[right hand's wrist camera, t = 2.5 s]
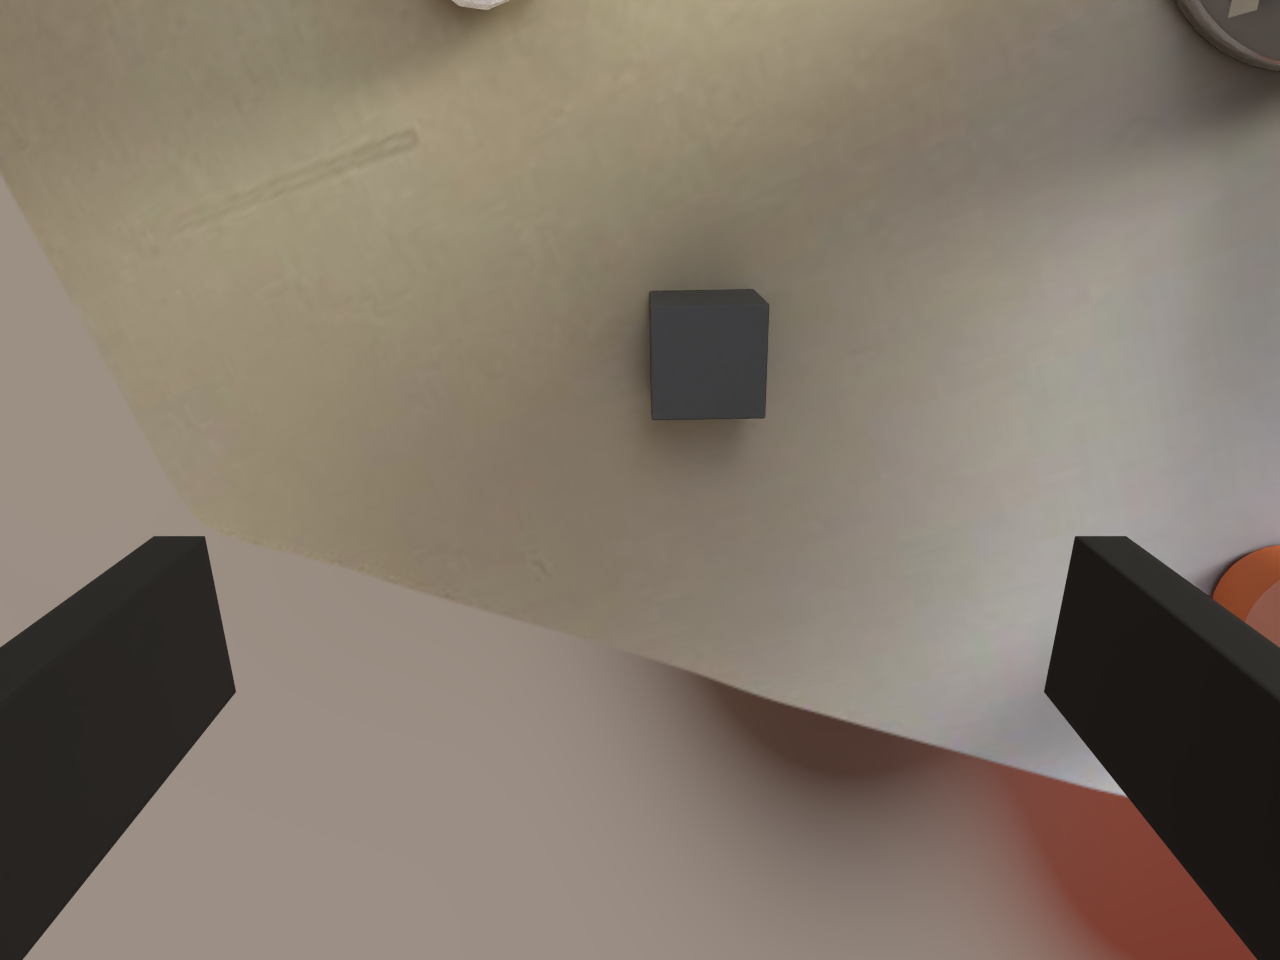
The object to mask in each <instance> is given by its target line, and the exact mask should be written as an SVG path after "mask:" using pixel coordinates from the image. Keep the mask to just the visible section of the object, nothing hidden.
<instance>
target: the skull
mask: <svg viewBox="0 0 1280 960" xmlns="http://www.w3.org/2000/svg"><path fill="white" fill-rule="evenodd" d="M452 1H453V2H455V3H456V4H457V5H458V6H462V7H469V8H476V9H483V10H489V9H491V8H494V7H496V6H498V5H501V4H503V3H506V2H508V1H510V0H452Z"/></svg>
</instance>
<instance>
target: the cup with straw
mask: <svg viewBox="0 0 1280 960" xmlns="http://www.w3.org/2000/svg"><path fill="white" fill-rule="evenodd" d="M1212 599H1213V600H1215V601H1216V602H1217V603H1219V604H1220V605H1222V606H1223V607H1224V608H1226V609H1227V610H1228V611H1230V612H1231V613H1233V614H1234V615H1235V616H1237V617H1238V618H1240V619H1241V620H1242V621H1244V622H1245V623H1246V624H1248V625H1249V626H1251V627H1252V628H1253V629H1255V630H1256V631H1257V632H1259V633H1260V634H1262V635H1263V636H1264V637H1266V638H1267V639H1269V640H1270V641H1271V642H1273V643H1274V644H1275V645H1277V646H1278V647H1280V545H1275V546H1270V547H1265V548H1262V549H1259V550H1257V551H1254V552H1252V553H1250V554H1248V555H1247V556H1245V557H1243V558H1242V559H1240V560H1239V561H1237V562H1236V563H1235V564H1234V565H1233V566H1232V567H1231V568H1229V569H1228V571H1227V572H1226V573H1225V574H1224V575H1223V577H1222V578H1221V580H1220V581H1219V583H1218V585H1217V587H1216V589H1215V591H1214V594H1213V598H1212Z"/></svg>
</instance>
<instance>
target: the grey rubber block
mask: <svg viewBox="0 0 1280 960" xmlns="http://www.w3.org/2000/svg"><path fill="white" fill-rule="evenodd" d="M649 297H650V370H651V412H652V420H687V419H749V418H765V407H766V380H767V352H768V324H769V304H768V303H767V302H766V301H765V300H764V299H763V298H762V297H761V296H760V295H759V294H758V293H757V292H756V291H755V290H753V289H742V290H685V291H650V293H649Z"/></svg>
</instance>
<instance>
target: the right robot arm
mask: <svg viewBox="0 0 1280 960" xmlns="http://www.w3.org/2000/svg"><path fill="white" fill-rule="evenodd" d="M1175 2H1176V3H1177V5H1178V7H1179V9H1180V10H1181V12H1182V13H1183V14H1184V16H1185V17H1186V19H1187V20H1188V22H1189V23H1190V24H1191V25H1192V26H1193V27H1194V28H1195V30H1196V31H1197V32H1198V33H1199V34H1200V35H1201V36H1202V37H1203V38H1205V39H1206V40H1207V41H1208V42H1209V43H1210V44H1211V45H1213V46H1214V47H1216V48H1217V49H1219V50H1220V51H1222V52H1223V53H1225V54H1227V55H1229V56H1231V57H1232V58H1234V59H1236V60H1238V61H1241V62H1244V63H1246V64H1249V65H1252V66H1255V67H1259V68H1263V69H1268V70H1274V71H1280V0H1175ZM235 692H236V690H235V685H234V680H233V675H232V670H231V665H230V660H229V655H228V650H227V645H226V640H225V635H224V630H223V625H222V620H221V615H220V610H219V605H218V600H217V595H216V590H215V585H214V580H213V575H212V570H211V565H210V560H209V555H208V550H207V545H206V540H205V537H204V536H154V537H152V538H151V539H150V540H148V541H147V542H146V543H144V544H143V545H141V546H140V547H139V548H137V549H136V550H134V551H133V552H132V553H130V554H129V555H128V556H126V557H125V558H123V559H122V560H121V561H119V562H118V563H117V564H115V565H114V566H112V567H111V568H110V569H108V570H107V571H105V572H104V573H103V574H101V575H100V576H99V577H97V578H96V579H94V580H93V581H92V582H90V583H89V584H87V585H86V586H85V587H83V588H82V589H81V590H79V591H78V592H76V593H75V594H74V595H72V596H71V597H69V598H68V599H67V600H65V601H64V602H63V603H61V604H60V605H59V606H57V607H56V608H54V609H53V610H52V611H50V612H49V613H47V614H46V615H45V616H43V617H42V618H41V619H39V620H38V621H36V622H35V623H34V624H32V625H31V626H29V627H28V628H27V629H25V630H24V631H23V632H21V633H20V634H18V635H17V636H16V637H14V638H13V639H11V640H10V641H9V642H7V643H6V644H5V645H3V646H2V647H0V960H23V958H24V957H25V956H26V955H27V953H28V952H29V951H30V950H31V948H32V947H33V946H34V945H35V943H36V942H37V941H38V940H39V938H40V937H41V936H42V935H43V933H44V932H45V931H46V930H47V928H48V927H49V926H50V925H51V923H52V922H53V921H54V920H55V918H56V917H57V916H58V915H59V913H60V912H61V911H62V910H63V908H64V907H65V906H66V904H67V903H68V902H69V901H70V899H71V898H72V897H73V896H74V894H75V893H76V892H77V891H78V889H79V888H80V887H81V886H82V884H83V883H84V882H85V881H86V879H87V878H88V877H89V876H90V874H91V873H92V872H93V871H94V869H95V868H96V867H97V866H98V864H99V863H100V862H101V861H102V859H103V858H104V857H105V855H106V854H107V853H108V852H109V851H110V849H111V848H112V847H113V845H114V844H115V843H116V842H117V840H118V839H119V838H120V837H121V835H122V834H123V833H124V832H125V830H126V829H127V828H128V827H129V825H130V824H131V823H132V822H133V820H134V819H135V818H136V817H137V815H138V814H139V813H140V812H141V810H142V809H143V808H144V807H145V805H146V804H147V803H148V801H149V800H150V799H151V798H152V797H153V795H154V794H155V793H156V792H157V790H158V789H159V788H160V787H161V785H162V784H163V783H164V781H165V780H166V779H167V778H168V776H169V775H170V774H171V773H172V771H173V770H174V769H175V768H176V766H177V765H178V764H179V763H180V761H181V760H182V759H183V758H184V756H185V755H186V754H187V753H188V751H189V750H190V749H191V748H192V746H193V745H194V744H195V743H196V741H197V740H198V739H199V738H200V736H201V735H202V734H203V733H204V731H205V730H206V729H207V728H208V726H209V725H210V724H211V722H212V721H213V720H214V719H215V717H216V716H217V715H218V714H219V712H220V711H221V710H222V709H223V707H224V706H225V705H226V704H227V702H228V701H229V700H230V699H231V697H232V696H233V695H234V694H235ZM1044 692H1045V694H1046V695H1047V696H1048V697H1049V699H1050V700H1051V701H1052V702H1053V704H1054V705H1055V706H1056V707H1057V709H1058V710H1059V711H1060V712H1061V714H1062V715H1063V716H1064V717H1065V719H1066V720H1067V721H1068V722H1069V724H1070V725H1071V726H1072V728H1073V729H1074V730H1075V731H1076V733H1077V734H1078V735H1079V736H1080V738H1081V739H1082V740H1083V741H1084V743H1085V744H1086V745H1087V746H1088V748H1089V749H1090V750H1091V751H1092V753H1093V754H1094V755H1095V756H1096V758H1097V759H1098V760H1099V761H1100V763H1101V764H1102V765H1103V766H1104V768H1105V769H1106V770H1107V771H1108V773H1109V774H1110V775H1111V776H1112V778H1113V779H1114V780H1115V781H1116V783H1117V784H1118V785H1119V787H1120V788H1121V789H1122V790H1123V792H1124V793H1125V794H1126V795H1127V797H1128V798H1129V799H1130V800H1131V802H1132V803H1133V804H1134V805H1135V806H1136V808H1137V809H1138V810H1139V812H1140V813H1141V814H1142V815H1143V817H1144V818H1145V819H1146V820H1147V822H1148V823H1149V824H1150V825H1151V827H1152V828H1153V829H1154V830H1155V832H1156V833H1157V834H1158V835H1159V837H1160V838H1161V839H1162V840H1163V842H1164V843H1165V844H1166V845H1167V847H1168V848H1169V849H1170V851H1171V852H1172V853H1173V854H1174V855H1175V857H1176V858H1177V859H1178V860H1179V862H1180V863H1181V864H1182V866H1183V867H1184V868H1185V869H1186V870H1187V872H1188V873H1189V874H1190V876H1191V877H1192V878H1193V879H1194V881H1195V882H1196V883H1197V884H1198V886H1199V887H1200V888H1201V889H1202V891H1203V892H1204V893H1205V894H1206V896H1207V897H1208V898H1209V899H1210V901H1211V902H1212V903H1213V904H1214V906H1215V907H1216V908H1217V909H1218V911H1219V912H1220V913H1221V914H1222V916H1223V917H1224V918H1225V919H1226V921H1227V922H1228V923H1229V925H1230V926H1231V927H1232V928H1233V930H1234V931H1235V932H1236V933H1237V935H1238V936H1239V937H1240V938H1241V940H1242V941H1243V942H1244V943H1245V945H1246V946H1247V947H1248V948H1249V950H1250V951H1251V952H1252V953H1253V955H1254V956H1255V957H1256V958H1257V960H1280V647H1278V646H1277V645H1275V644H1274V643H1273V642H1271V641H1270V640H1269V639H1267V638H1266V637H1264V636H1263V635H1262V634H1260V633H1259V632H1257V631H1256V630H1255V629H1253V628H1252V627H1251V626H1249V625H1248V624H1246V623H1245V622H1244V621H1242V620H1241V619H1240V618H1238V617H1237V616H1235V615H1234V614H1233V613H1231V612H1230V611H1228V610H1227V609H1226V608H1224V607H1223V606H1222V605H1220V604H1219V603H1217V602H1216V601H1215V600H1213V599H1212V598H1211V597H1209V596H1208V595H1206V594H1205V593H1204V592H1202V591H1201V590H1199V589H1198V588H1197V587H1195V586H1194V585H1193V584H1191V583H1190V582H1188V581H1187V580H1186V579H1184V578H1183V577H1181V576H1180V575H1179V574H1177V573H1176V572H1175V571H1173V570H1172V569H1170V568H1169V567H1168V566H1166V565H1165V564H1164V563H1162V562H1161V561H1159V560H1158V559H1157V558H1155V557H1154V556H1152V555H1151V554H1150V553H1148V552H1147V551H1146V550H1144V549H1143V548H1141V547H1140V546H1139V545H1137V544H1136V543H1135V542H1133V541H1132V540H1130V539H1129V538H1128V537H1126V536H1075V540H1074V545H1073V550H1072V555H1071V560H1070V565H1069V570H1068V575H1067V580H1066V585H1065V590H1064V595H1063V600H1062V605H1061V610H1060V615H1059V620H1058V625H1057V630H1056V635H1055V640H1054V645H1053V650H1052V655H1051V660H1050V665H1049V670H1048V675H1047V680H1046V685H1045V690H1044Z"/></svg>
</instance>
